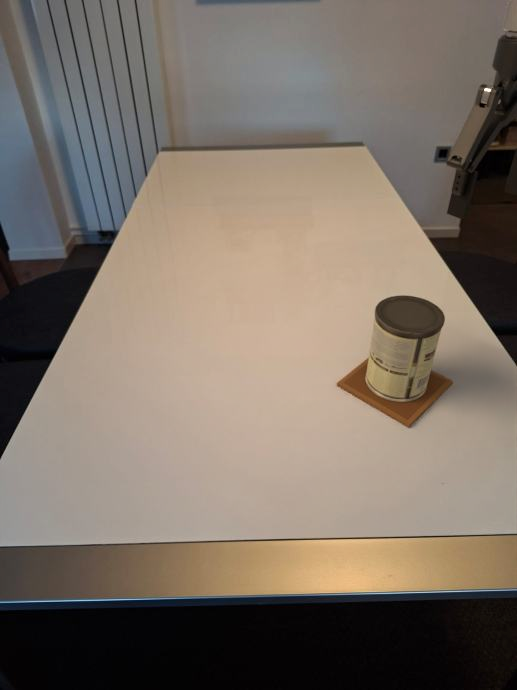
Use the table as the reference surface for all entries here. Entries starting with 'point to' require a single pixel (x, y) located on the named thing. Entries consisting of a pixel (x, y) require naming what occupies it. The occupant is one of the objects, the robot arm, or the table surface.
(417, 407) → the cork mat
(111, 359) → the table surface
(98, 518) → the table surface
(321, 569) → the table surface
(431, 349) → the coffee can
